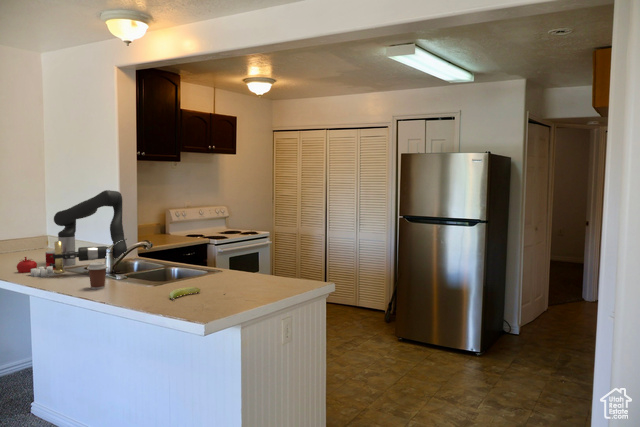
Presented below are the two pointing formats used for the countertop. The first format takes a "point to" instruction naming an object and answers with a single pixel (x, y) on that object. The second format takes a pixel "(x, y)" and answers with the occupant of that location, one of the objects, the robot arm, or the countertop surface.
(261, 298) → the countertop surface
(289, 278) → the countertop surface
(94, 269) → the coffee cup
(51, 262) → the canned food
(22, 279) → the countertop surface
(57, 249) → the gold tall tapered cylinder
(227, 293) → the countertop surface
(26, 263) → the red tomato
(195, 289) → the green caterpillar
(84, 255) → the robot arm
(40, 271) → the mat
